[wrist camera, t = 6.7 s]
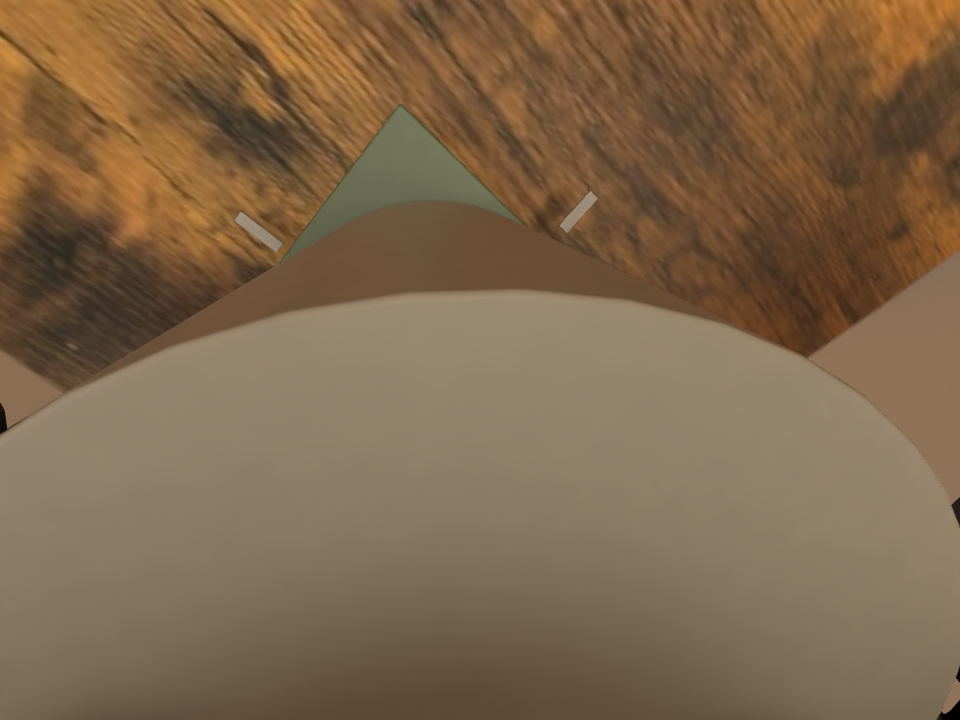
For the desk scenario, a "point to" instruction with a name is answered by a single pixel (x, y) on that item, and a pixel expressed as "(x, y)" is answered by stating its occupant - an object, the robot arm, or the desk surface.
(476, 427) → the beige cylindrical knob
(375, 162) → the dial base plate
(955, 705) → the robot arm
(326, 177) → the desk surface
